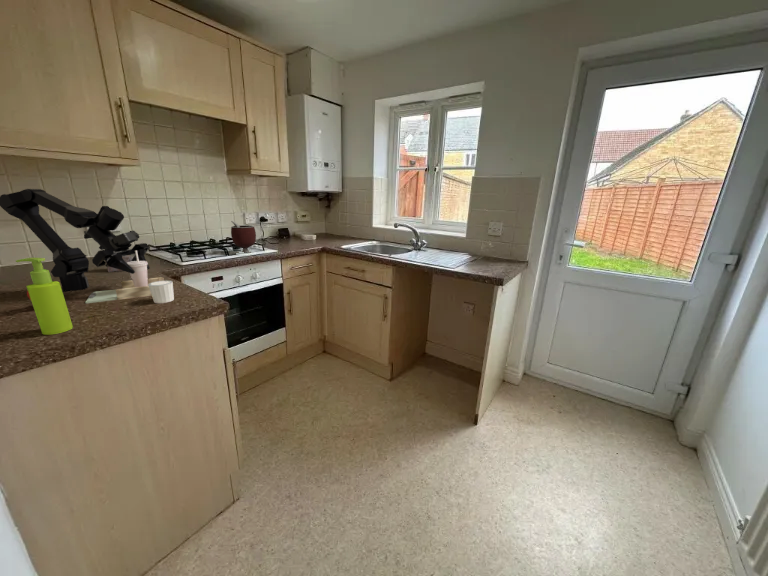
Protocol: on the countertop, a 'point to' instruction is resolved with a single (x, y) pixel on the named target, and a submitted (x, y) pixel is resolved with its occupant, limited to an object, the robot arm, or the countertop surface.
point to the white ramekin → (162, 291)
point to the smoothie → (139, 272)
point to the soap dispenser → (47, 300)
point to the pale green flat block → (102, 296)
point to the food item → (125, 258)
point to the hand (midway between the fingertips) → (141, 270)
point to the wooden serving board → (135, 289)
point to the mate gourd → (243, 236)
